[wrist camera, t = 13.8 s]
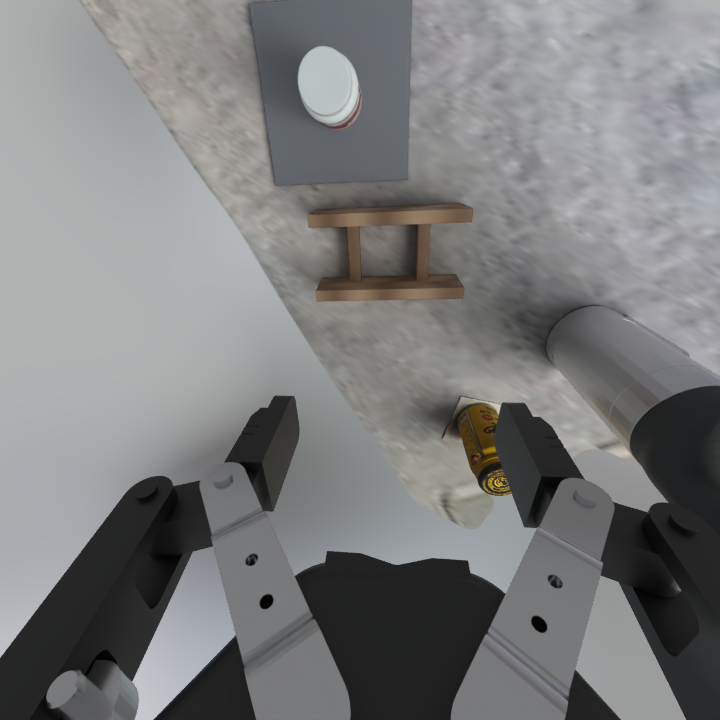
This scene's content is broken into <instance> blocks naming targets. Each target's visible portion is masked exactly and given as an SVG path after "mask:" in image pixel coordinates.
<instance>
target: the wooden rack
mask: <svg viewBox="0 0 720 720" xmlns="http://www.w3.org/2000/svg"><path fill="white" fill-rule="evenodd" d="M472 216H473V208H471V207H469V206H466V205H464V204H443V205H418V206H393V207H368V208H342V209H317V210H315V211H313V212H311V213H310V214H308V215H307V217H308V226H309V228H324V227H347V235H348V253H349V270H350V277H339V278H322V280H321V282H320V284H319V286H318V288H317V289H316V298H317V301H360V300H412V299H463V294H464V287H463V285H462V284H461V282H460V281H459V279H458V278H457V276H456V275H428V260H429V242H430V225H431V224H436V223H464V222H472ZM408 224H417V247H416V272H415V276H380V277H361V254H360V229H359V226H380V225H408Z"/></svg>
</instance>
